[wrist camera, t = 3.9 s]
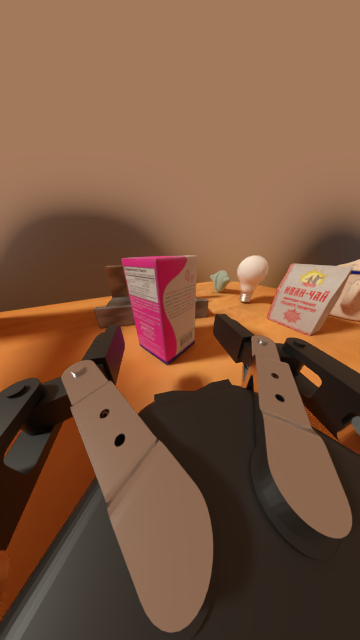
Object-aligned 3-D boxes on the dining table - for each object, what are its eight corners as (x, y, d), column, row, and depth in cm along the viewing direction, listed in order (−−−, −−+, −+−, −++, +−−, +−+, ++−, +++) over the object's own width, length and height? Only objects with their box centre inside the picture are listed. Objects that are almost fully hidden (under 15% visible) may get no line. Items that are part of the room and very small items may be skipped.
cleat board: (100, 328, 22) (81, 274, 18) (116, 302, 34) (107, 266, 30) (206, 316, 26) (211, 269, 22) (189, 297, 37) (190, 263, 33)
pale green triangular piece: (206, 290, 44) (208, 269, 41) (216, 288, 46) (218, 268, 43) (223, 296, 38) (227, 272, 35) (233, 294, 40) (237, 271, 36)
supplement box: (167, 329, 22) (162, 254, 17) (195, 343, 19) (201, 255, 13) (137, 345, 18) (119, 256, 13) (166, 367, 15) (158, 257, 9)
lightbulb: (262, 302, 33) (277, 255, 28) (250, 308, 30) (265, 255, 25) (239, 296, 38) (248, 255, 32) (226, 301, 34) (234, 255, 29)
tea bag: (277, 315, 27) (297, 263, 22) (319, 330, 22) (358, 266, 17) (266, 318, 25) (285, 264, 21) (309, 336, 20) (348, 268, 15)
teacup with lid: (320, 302, 33) (348, 251, 28) (380, 315, 26) (432, 251, 21) (303, 313, 27) (333, 251, 22) (374, 333, 21) (443, 251, 15)
